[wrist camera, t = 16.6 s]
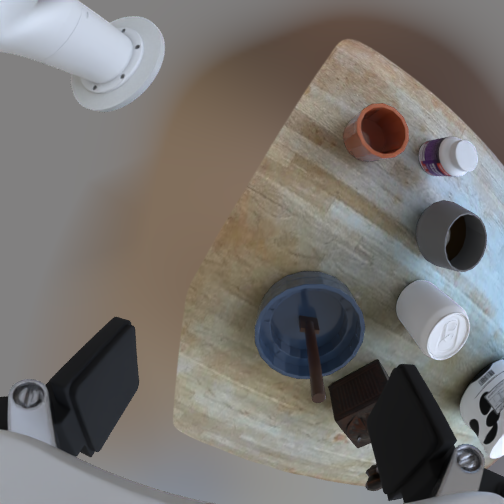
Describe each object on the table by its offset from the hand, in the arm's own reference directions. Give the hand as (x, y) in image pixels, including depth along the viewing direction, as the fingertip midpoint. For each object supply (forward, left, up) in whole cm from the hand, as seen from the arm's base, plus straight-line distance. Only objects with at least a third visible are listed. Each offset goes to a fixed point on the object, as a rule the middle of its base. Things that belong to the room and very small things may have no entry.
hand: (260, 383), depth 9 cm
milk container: (+57, +20, -33) cm, 69 cm away
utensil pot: (-3, +18, -33) cm, 37 cm away
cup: (+14, +20, -33) cm, 41 cm away
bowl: (+14, -4, -33) cm, 36 cm away
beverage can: (+23, +12, -33) cm, 42 cm away
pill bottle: (+5, +26, -33) cm, 42 cm away
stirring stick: (+14, -4, -32) cm, 35 cm away
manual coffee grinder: (+36, -4, -33) cm, 49 cm away
